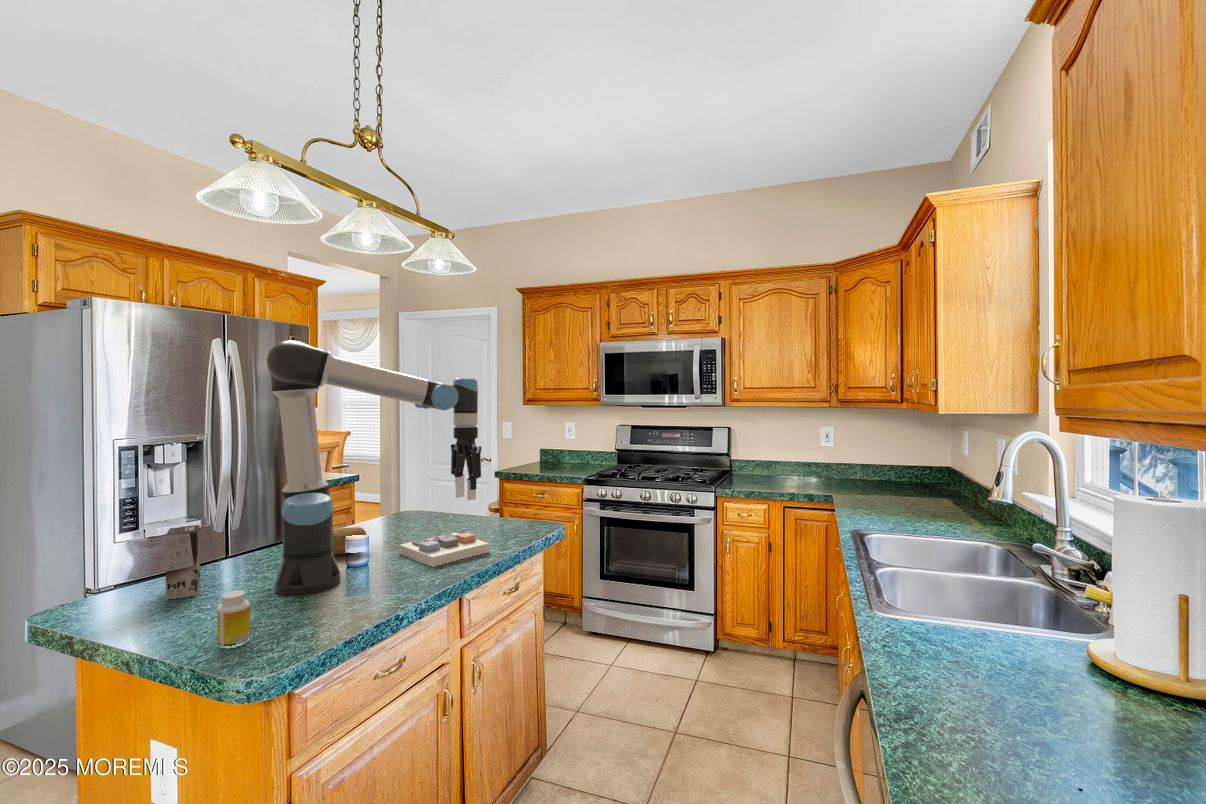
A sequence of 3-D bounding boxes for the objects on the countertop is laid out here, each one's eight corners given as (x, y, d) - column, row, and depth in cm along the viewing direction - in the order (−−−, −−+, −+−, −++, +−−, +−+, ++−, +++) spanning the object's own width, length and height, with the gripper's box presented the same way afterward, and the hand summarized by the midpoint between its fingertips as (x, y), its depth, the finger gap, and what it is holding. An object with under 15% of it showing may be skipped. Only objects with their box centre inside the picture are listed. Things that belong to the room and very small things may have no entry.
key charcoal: (445, 551, 169) (445, 541, 169) (438, 548, 172) (438, 538, 172) (458, 548, 172) (458, 538, 172) (450, 545, 175) (450, 536, 175)
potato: (317, 552, 174) (317, 527, 173) (365, 547, 180) (365, 523, 180) (316, 561, 165) (316, 534, 165) (367, 555, 171) (367, 530, 171)
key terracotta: (463, 546, 174) (463, 537, 174) (456, 544, 177) (456, 534, 177) (475, 543, 177) (475, 534, 177) (467, 541, 180) (467, 532, 180)
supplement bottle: (256, 640, 113) (256, 590, 113) (231, 652, 108) (231, 600, 107) (236, 636, 115) (235, 587, 114) (210, 648, 109) (209, 597, 109)
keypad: (432, 567, 160) (432, 553, 160) (399, 554, 172) (399, 541, 172) (488, 552, 175) (488, 539, 175) (454, 541, 187) (454, 529, 187)
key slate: (426, 555, 164) (426, 545, 164) (419, 552, 167) (419, 543, 167) (439, 552, 167) (439, 542, 167) (432, 549, 170) (432, 540, 170)
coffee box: (197, 596, 137) (197, 531, 136) (164, 601, 133) (164, 535, 133) (201, 585, 145) (200, 523, 144) (170, 589, 141) (169, 527, 141)
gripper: (493, 427, 173) (493, 500, 173) (459, 424, 185) (459, 493, 186) (473, 428, 167) (473, 504, 168) (439, 425, 180) (439, 496, 180)
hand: (465, 498), depth 177 cm, fingers open, 6 cm apart
